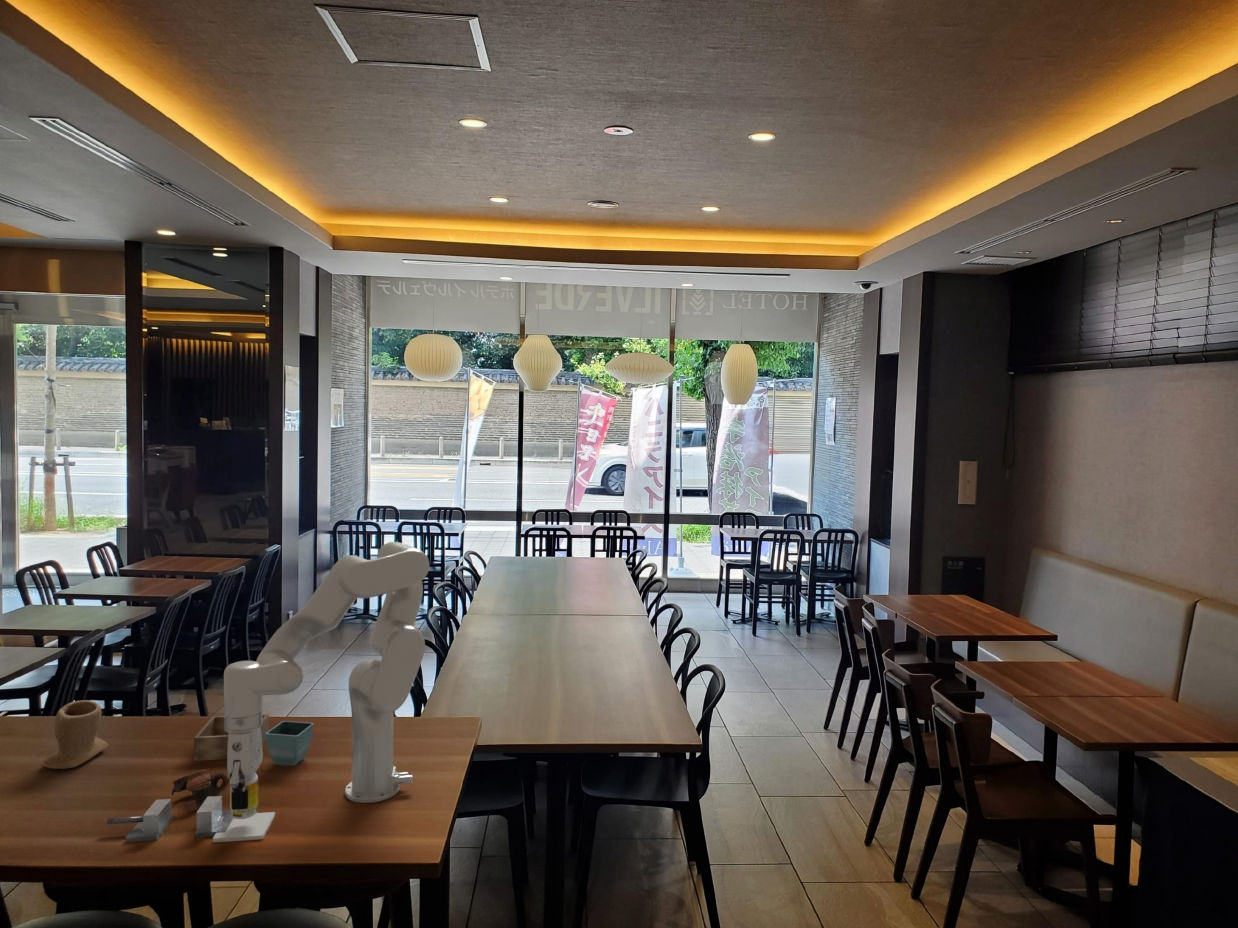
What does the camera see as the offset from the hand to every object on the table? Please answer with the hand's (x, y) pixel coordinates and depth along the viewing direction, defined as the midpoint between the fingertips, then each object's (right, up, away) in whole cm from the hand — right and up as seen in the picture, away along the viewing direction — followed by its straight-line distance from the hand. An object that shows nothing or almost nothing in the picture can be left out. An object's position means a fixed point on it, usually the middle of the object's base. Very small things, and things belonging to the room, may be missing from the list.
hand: (244, 800), depth 174 cm
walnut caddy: (-22, -3, +41) cm, 47 cm away
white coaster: (0, -6, 0) cm, 6 cm away
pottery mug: (-16, -6, +12) cm, 21 cm away
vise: (-16, -6, 0) cm, 17 cm away
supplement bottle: (0, -3, 0) cm, 3 cm away
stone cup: (-57, -3, +32) cm, 66 cm away
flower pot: (-4, -4, +33) cm, 34 cm away
